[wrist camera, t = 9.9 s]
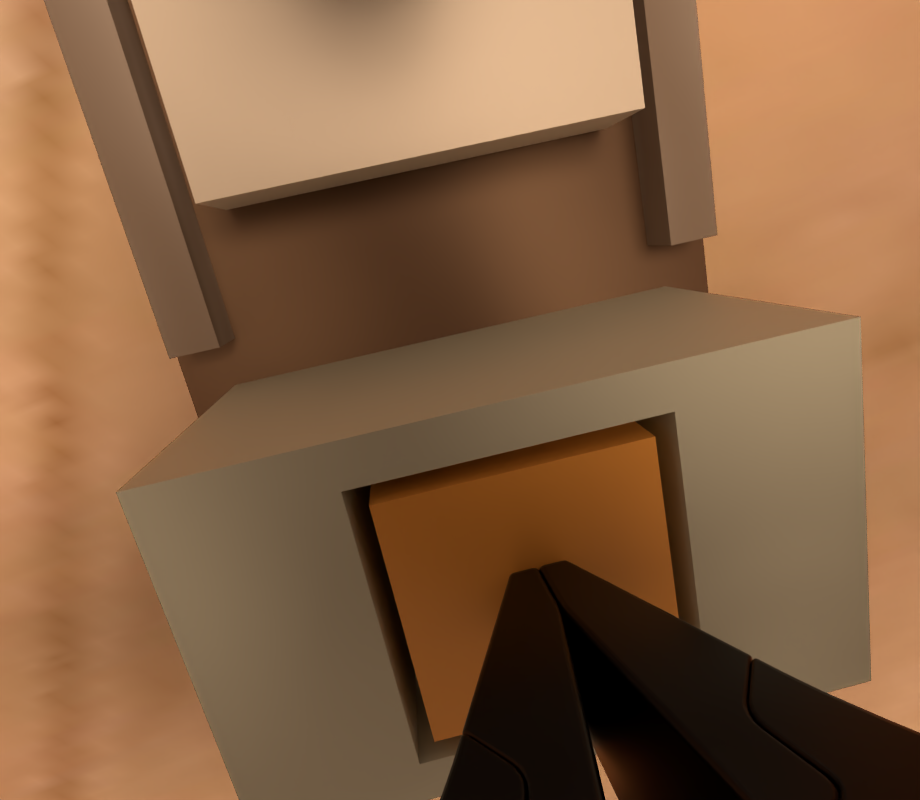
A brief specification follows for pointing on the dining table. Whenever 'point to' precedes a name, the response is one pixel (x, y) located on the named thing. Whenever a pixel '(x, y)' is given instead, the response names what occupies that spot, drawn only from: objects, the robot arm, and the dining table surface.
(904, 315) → the dining table surface
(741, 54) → the dining table surface
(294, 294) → the track
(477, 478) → the button
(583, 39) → the carriage
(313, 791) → the button housing
